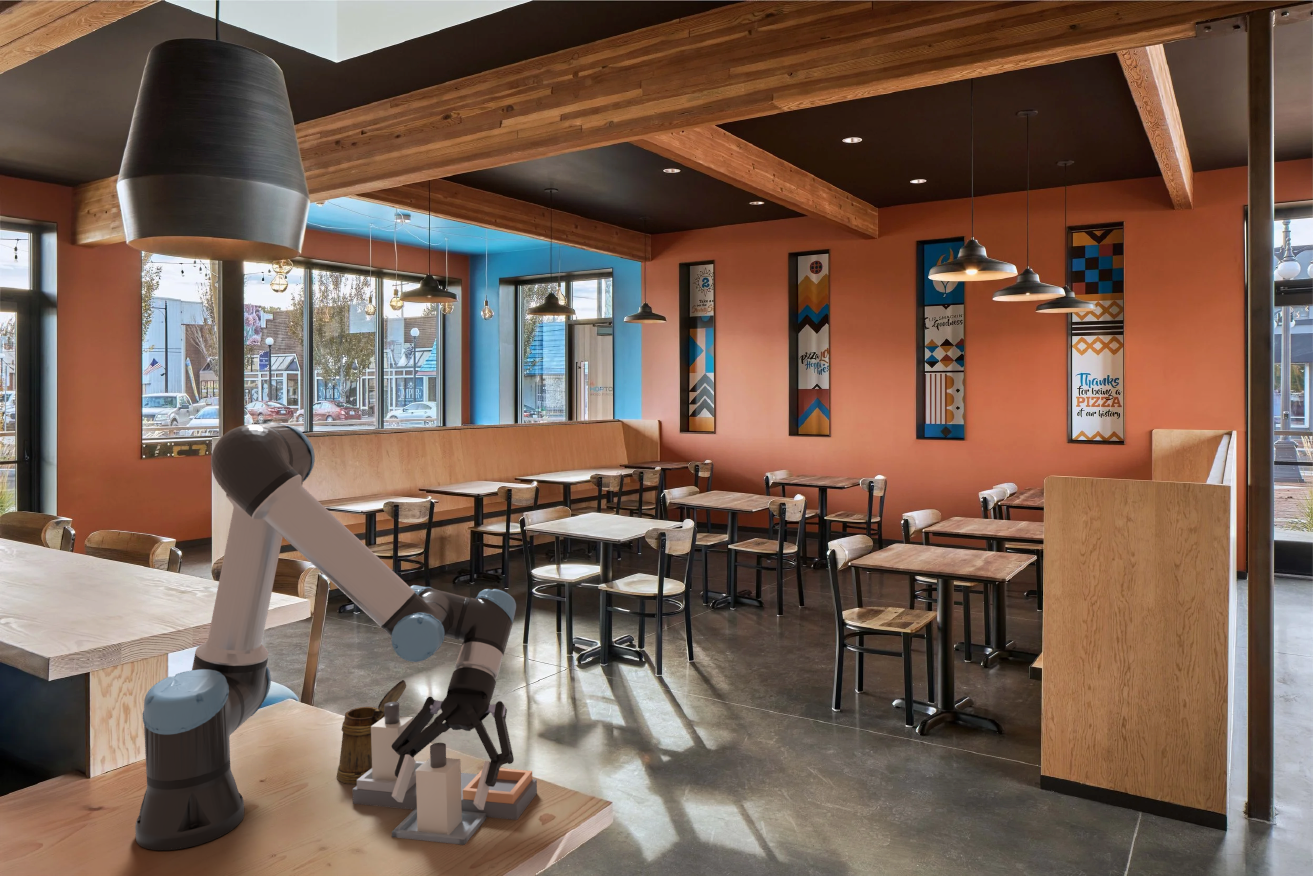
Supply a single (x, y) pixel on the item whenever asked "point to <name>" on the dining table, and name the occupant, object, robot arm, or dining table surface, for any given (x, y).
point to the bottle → (439, 792)
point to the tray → (458, 836)
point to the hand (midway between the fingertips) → (437, 803)
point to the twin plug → (387, 742)
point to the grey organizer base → (500, 803)
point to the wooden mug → (361, 737)
